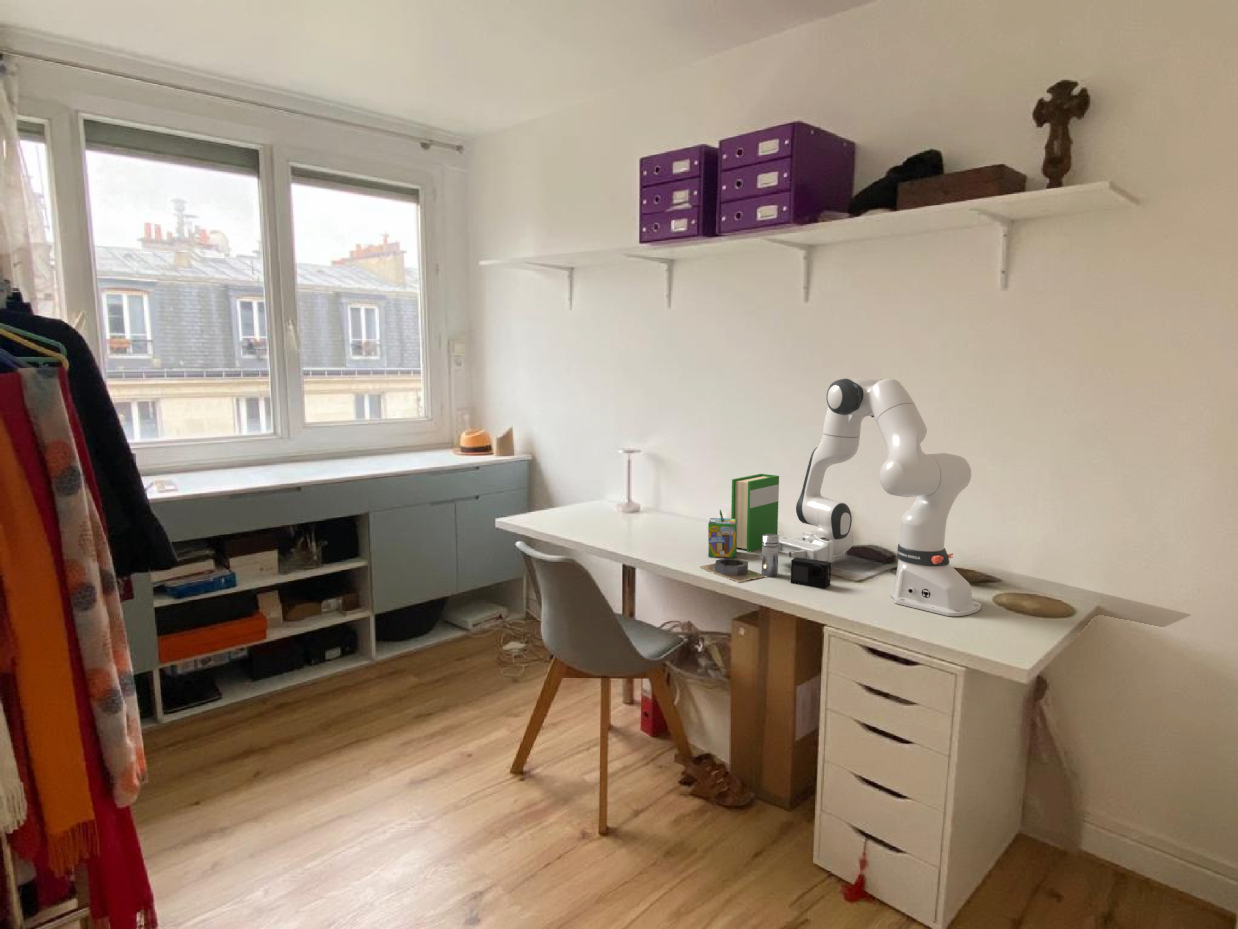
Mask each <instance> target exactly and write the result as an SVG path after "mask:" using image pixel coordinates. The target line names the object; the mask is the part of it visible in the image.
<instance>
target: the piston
mask: <svg viewBox="0 0 1238 929" xmlns="http://www.w3.org/2000/svg"><path fill="white" fill-rule="evenodd" d="M779 536H780V535H778V534H777V535H776V534H763V535H762V548H761V573H760V574H763V575H765V576H767V577H766V578H776V577H778V576H777V575H779V551H778V546H779Z"/></svg>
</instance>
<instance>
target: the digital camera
mask: <svg viewBox="0 0 1238 929" xmlns="http://www.w3.org/2000/svg"><path fill="white" fill-rule="evenodd" d="M831 570H832V561H830V562H826V561H820V560H813V559H806V558H799V557H796V558H791V562H790V584H794V585H798V586H799V585H800V586H805V587H809V588H810V587H811V588H817V589H823V590H826V589H828V588H829V587H830V586H831V577H832V576H831V575H832V574H831V573H832V571H831Z"/></svg>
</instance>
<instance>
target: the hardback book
mask: <svg viewBox="0 0 1238 929" xmlns="http://www.w3.org/2000/svg"><path fill="white" fill-rule="evenodd" d="M779 489H780V475H775V474H767V473H757V474H752V475H748V476H741V477H737V478H731V509H730V510H731V511H730V513H731V514H730V516H731V517H730V519H737V549H738V548H739V549H744V550H746V553H750V551H751V552H753V551H757V550H760V549H762V535H763V534H776V535H778V528H779V527H778V525H779V492H780V490H779ZM759 548H760V549H759Z"/></svg>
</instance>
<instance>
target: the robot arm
mask: <svg viewBox="0 0 1238 929" xmlns="http://www.w3.org/2000/svg"><path fill="white" fill-rule="evenodd" d="M826 403H827V411H826V412H825V417H824V421H823V428H822V436H821V440H820V442H819V445H818V446H817V447H815V448H814V449H813V451H812V452H811V454H810V458H809V460H808V464H807V469H806V472H805V477H804V481H803V483H802V484H803V485H802V489H801V492H800V495H799V497H798V500H797V502H796V506H795V512H796V516H797V518H798V520H799V521H800V522H801V523H802V524H806V525H810V526H815V527H817V529H815V530H810V531H809V530H808V531H805V532H802V533H800V535H799V536H798V538H797V537H792V536H789V535H778V536H779V546H778V553H782V554H787V555H788V557H789V558H790V559H794V558H796V557H799V558H806V559H813V560H820V561H826V562H832V561H833V557H835V556H837V555H841V554H844V553H846V552H848V551H849V550H850V549H851V547H853V545H854V541H855V536H854V533H853V531H852V530H851V527H852V523H853V522H852V521H853V518H852V511H851V509H850V507H849V506H848V505H847V504H846V503H845V502H841V501H838V500H835V499H831V498H828V497H824V496H823V495H822V494H821V489H822V485H823V483H824V482H823V481H824V477H825V474H826V471H827V470H828V468H829V467H830V466H832V465H837V464H841V463H845V462H847V461H849V460H850V459H852V458H853V457H854V456H855V455H856V454H857V452H858V450H859V447H860V446H859V445H860V439H861V438H860V437H861V430H862V429H861V428H862V427H861V426H862V422H863V420H864V419H865V418H866V417H871V418H874V419H875V421H876V425H877V426H878V428H879V431H880V433H881V435H882V438H883V440H884V443H885V446H886V451H887V454H886V458H885V461H884V462H883V463H882V465H881V467H880V470H879V482H880V485H881V487H882V489H883V491H885V492H886V493H887V494H889V495H891V496H895V497H903V498H915V497H916V498H915V500H914V502H913V504H912V505H911V506H910V508H908V509H907V510H905V512H904V513H903V514H902V516H901V518H900V528H899V529H900V530H899V544H898V545H897V551H896V560H897V566H896V567H897V568H896V572H895V573H896V574H895V578H894V582H893V586H892V589H891V591H890V597H892V599H893V602H894V603H895V604H897V605H901V606H905V607H910V608H914V609H918V610H921V611H927V612H931V613H934V614H938V615H942V616H947V617H961V616H967V615H971V614H975V613H977V612H979V611H980V610H981V609H982V604H981V603H980V602H978V601H976V600H973V595H972V594H973V592H972V588H971V587H972V586H971V584H970V582H969V581H967V580H966V579H965V578H964V577H963V576H962V575H961V574H960V573H959V572H958V571H957V570H956V569H955V568H954V567H953V566H952V565H951V564H950V562H951V561H950V559H953V558H954V556H953V555H954V553H947V550H946V548H945V539H946V528H947V520H948V517H949V513H950V511H951V509H952V506H953V505H954V503H955V500H956V499H957V498H958V496H959V495H960V493H961V492H962V491H963V490H965V489H966V488H967V487H968V486H969V484H970V482H971V479H972V469H971V466H970V464H969V461H968V460H966V459H965V458H964V457H963V456H961V455H957V454H951V453H944V452H943V453H925V452H924V451H923V450H922V447H921V443H922V442H923V441H924V440H925V438H926V435H927V432H928V431H927V430H928V429H927V426H926V424H925V422H924V419H923V418H922V416H921V413H920V412H919V410H918V408H917V406H916V404H915V402H914V400H913V398H912V397H911V395H910V394H909V392H908V391H907V390H906V389H905V387H904V386H903V385H902V383H901V382H900V381H898V380H897V379H895V378H885V379H883V378H881V379H874V378H867V377H856V378H854V377H853V378H841V379H837V380H835V381H833V382H831V383H830V385H829V387H828V389H827V392H826Z"/></svg>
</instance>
